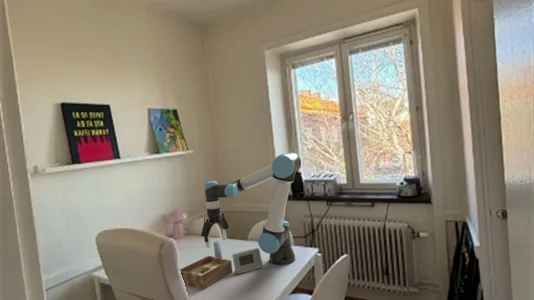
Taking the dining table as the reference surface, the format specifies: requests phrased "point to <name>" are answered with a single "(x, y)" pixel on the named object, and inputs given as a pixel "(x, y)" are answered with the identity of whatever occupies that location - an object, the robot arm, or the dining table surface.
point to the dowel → (217, 249)
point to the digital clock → (247, 260)
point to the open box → (206, 272)
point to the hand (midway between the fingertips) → (216, 243)
